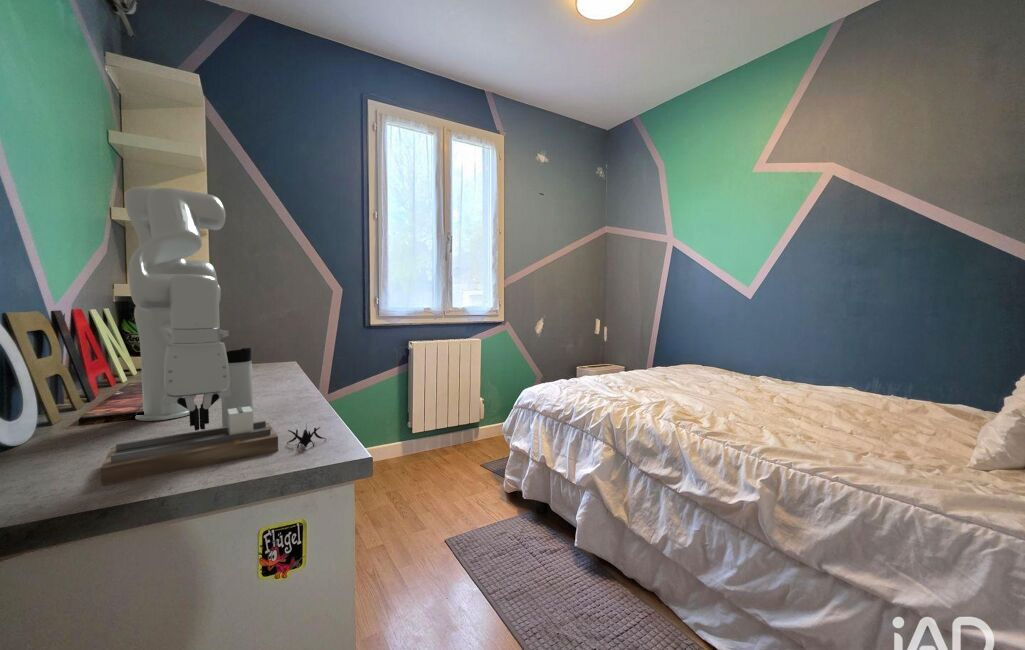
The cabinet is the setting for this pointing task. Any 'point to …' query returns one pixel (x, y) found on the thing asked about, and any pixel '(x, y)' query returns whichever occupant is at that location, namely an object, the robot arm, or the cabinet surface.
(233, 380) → the travel mug
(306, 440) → the creature
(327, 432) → the cabinet surface
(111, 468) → the fader console
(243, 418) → the fader tab
